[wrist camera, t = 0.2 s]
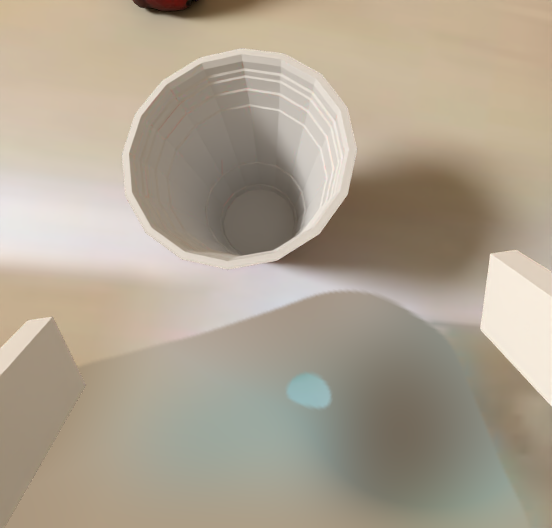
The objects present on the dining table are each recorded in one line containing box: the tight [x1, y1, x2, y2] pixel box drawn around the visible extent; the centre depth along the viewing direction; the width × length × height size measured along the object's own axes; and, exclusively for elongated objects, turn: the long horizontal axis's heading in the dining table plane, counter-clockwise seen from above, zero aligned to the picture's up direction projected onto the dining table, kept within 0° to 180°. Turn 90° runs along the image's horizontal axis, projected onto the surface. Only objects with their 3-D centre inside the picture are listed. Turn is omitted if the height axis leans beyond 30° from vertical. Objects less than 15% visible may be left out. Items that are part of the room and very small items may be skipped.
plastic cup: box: [122, 48, 357, 269], centre depth 22 cm, size 11×11×12 cm
